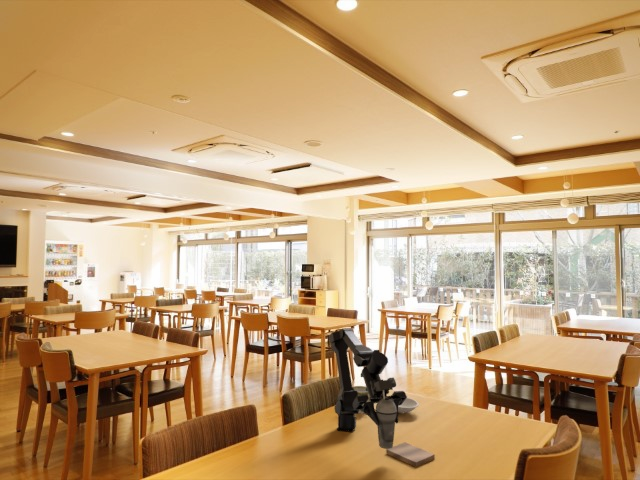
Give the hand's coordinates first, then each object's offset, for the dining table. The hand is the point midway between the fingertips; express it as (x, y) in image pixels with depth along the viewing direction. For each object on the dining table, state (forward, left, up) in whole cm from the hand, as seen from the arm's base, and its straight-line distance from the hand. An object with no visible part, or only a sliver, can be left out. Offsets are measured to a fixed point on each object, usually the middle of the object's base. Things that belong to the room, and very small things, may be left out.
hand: (388, 424), depth 143 cm
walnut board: (+6, +9, -13) cm, 17 cm away
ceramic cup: (-19, +51, -13) cm, 56 cm away
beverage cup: (-1, +1, -8) cm, 8 cm away
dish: (-2, +54, -13) cm, 56 cm away
